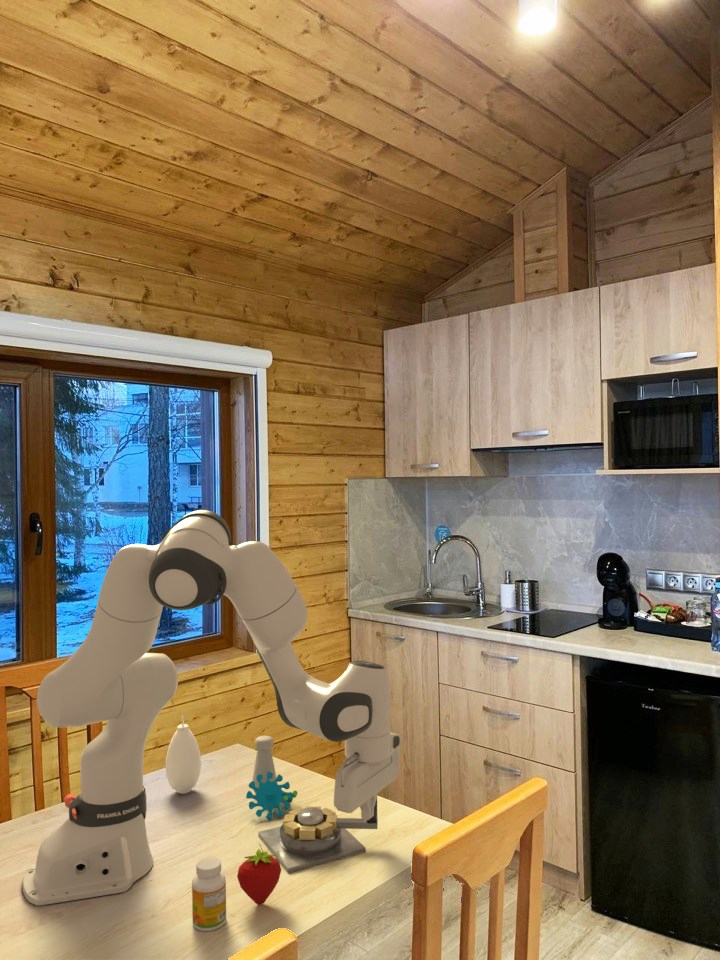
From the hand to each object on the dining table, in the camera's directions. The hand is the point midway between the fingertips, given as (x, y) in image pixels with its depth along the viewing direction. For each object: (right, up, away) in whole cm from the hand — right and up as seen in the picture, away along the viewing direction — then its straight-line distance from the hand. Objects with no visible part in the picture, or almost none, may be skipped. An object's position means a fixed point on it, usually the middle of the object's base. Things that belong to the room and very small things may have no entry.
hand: (367, 817), depth 145 cm
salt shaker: (-23, -7, +27) cm, 36 cm away
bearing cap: (-11, -7, +4) cm, 13 cm away
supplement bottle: (-26, -7, -22) cm, 35 cm away
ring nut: (-7, -3, +3) cm, 9 cm away
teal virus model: (-20, -7, +18) cm, 28 cm away
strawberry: (-18, -7, -17) cm, 26 cm away
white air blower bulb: (-42, -7, +28) cm, 51 cm away
